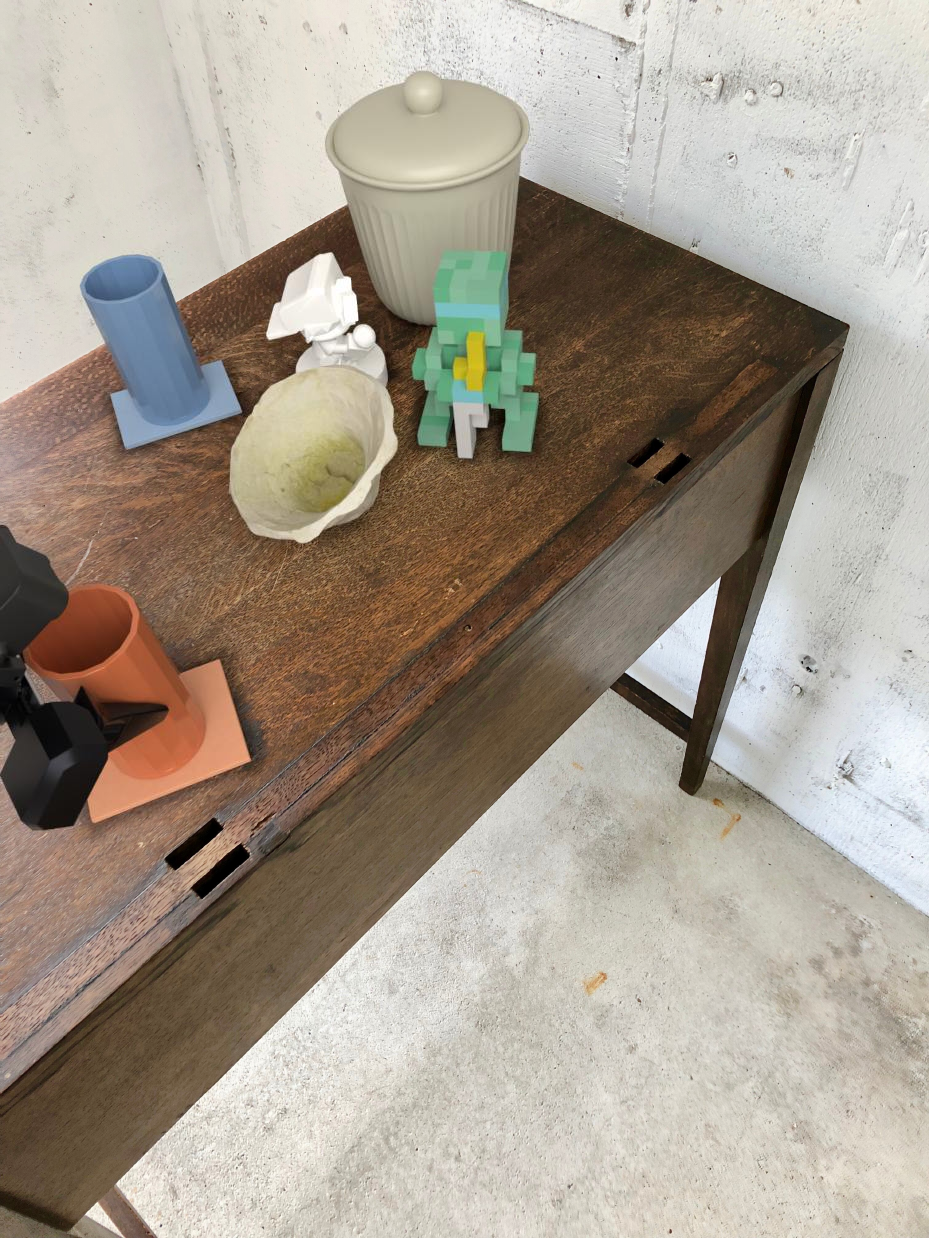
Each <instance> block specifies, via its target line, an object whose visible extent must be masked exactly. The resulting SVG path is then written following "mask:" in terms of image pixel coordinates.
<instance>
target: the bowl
mask: <svg viewBox="0 0 929 1238" xmlns="http://www.w3.org/2000/svg"><path fill="white" fill-rule="evenodd" d="M394 410H395V409H394V404H393V403H392V398H391V396H390V393H389V391H388V389H387V387H386V388H385V387H384V386H383V385H382V384H381V383H379V382H378V380H377V379H375V378H374V377H372V376H371V375H368V374H366V373H365V372H363V371H361V370H359V369H357V368H356V367H353V366H350V365H327V366H321V367H316V368H311V369H307V370H305V371H302V372H298V373H296V372H295V373H293V374H292V375H289V376H288V377H286V378H284V379H282V380H279V381H278V382H275V383H273V384H271V385H270V386H269V387H268V388H267V389H266V390H265V392H264V393H263V394H262V395H261V396H260V398H259V400H258V402H257V403H256V404H255V405H254V407H253V410H252V412H251V414H249V415H248V417H247V418H246V419H245V422H244V423H243V425H242V427H241V429H240V431H239V434H238V435H237V436H236V439H235V441H234V443H233V445H232V446H231V451H230V465H229V488H228V494H230V495H231V499H232V501H233V503H234V505H235V506H236V507H237V510H238V513H239V514H240V517H241V518H242V519H243V520H244V522H245V523H246V525H247V527H248V529H249V530H250V532H252V534H253V535H256V536H258V537H266V538H270V539H274V540H288V541H295V542H297V543H299V544H307V543H309V542H311V541H312V540H314V539H315V538H317V537H319V535H320V534H321V533H322V532H323V531H325V530H328V529H331V528H333V526H341V525H343V524H347V523H350V522H351V521H353V520H356V519H358V518H359V517H361V515H363V514H364V513H365V512H366V511H368V510H369V509H370V508H371V507H372V506H373V505H374V503H375V501H376V499H377V497H378V494H379V491H380V482H381V481H380V480H381V476H382V470H383V469H384V468H385V467H386V466H387V465H388V463H389V462H391V460H392V459H393V458H394V456H395V455H396V453H397V451H398V446H399V441H398V437H397V435H396V433H395V430H394V420H395V411H394Z"/></svg>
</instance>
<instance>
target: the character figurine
mask: <svg viewBox="0 0 929 1238" xmlns="http://www.w3.org/2000/svg"><path fill="white" fill-rule="evenodd" d="M335 257H336V256H335V255H334V253H333V252H332V251H330V252H325V253H319V254H318V255H315V256H314V257H313V258H311V259H310V260H309V261H307V262H305V263H304V264H303V265H300V266H299V267H298V268H296V269H295V270H293V271H292V272H290V273H289V275H287V278H286V281H285V285H284V289H283V293H282V297H281V300H280V301H279V302H275V304H274V305H273V308H272V312H271V314H270V318H269V322H268V326H267V330H266V334H265V336H266V338H267V340H268V341H272V340H277V339H280V338H284V337H287V336H291V335H295V334H297V333H298V332H300V333H301V335H302V336H303V337H304V338H305V342H306V344H310V343H311V344H312V345H311V346H310V347H308V348H307V349H306V350H305V351H304V352H303V353H302V355H301V356H299V358H298V361H297V363H296V366H295V374H296V373H298V372H302V371H305V370H307V369H311V368H316V367H321V366H327V365H350V366H353V367H356V368H357V369H359V370H361V371H363V372H365V373H366V374H368V375H371V376H372V377H374V378H375V379H377V380H378V382H379V383H381V384H382V385H383V386H384V387H385V388H386V389H387V385H388V382H389V375H388V368H387V362H386V357H385V354H384V352H383V349H382V348H381V347H380V346H379V345H378V344H377V343H376V340H377V339H376V338H377V336H376V332H375V330H374V329H373V328H372V327H371V326H370V325H369V324H365V323H361V324H358V325H356V322H358V321H359V313H358V311H359V310H358V303H357V294H356V293H355V291H353V289H352V280H351V279H352V278H351V277H350V276H345V275H344V274H343V271H342V269H341V268H340V265H339V263H338V261H337V258H335ZM353 325H356V326H355V327H354V329H353V331H352V332H347V331H348V330H349V329H350V328H351V326H353ZM346 332H347V333H346ZM345 333H346V334H345Z"/></svg>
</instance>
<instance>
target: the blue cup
mask: <svg viewBox="0 0 929 1238" xmlns="http://www.w3.org/2000/svg"><path fill="white" fill-rule="evenodd" d="M79 289H80V293H81V296H82V298H83V300H84V302H85V304H86V305H87V309H88V311H89V312H90V314H91V316H92V318H93V321H94V323H95V325H96V327H97V329H98V331H99V333H100V335H101V337H102V339H103V341H104V344H105V346H106V348H107V350H108V353H109V354H110V356H111V358H112V361H113V363H114V364H115V366H116V369H117V371H118V373H119V375H120V377H121V379H122V381H123V383H124V386H125V387H126V389H127V390H128V392H129V394H130V396H131V398H132V400H133V402H134V404H135V406H136V408H137V411H138V412H139V414H140V415H141V417H142V418H143V419H144V420H146V421H147V422H149V423H151V424H154V425H160V426H170V425H177V424H180V423H184V422H186V421H188V420H191V419H192V418H194V417H196V416H197V415H199V414H200V413H201V412H202V411H203V410H204V409H205V408H206V406H207V404H208V403H209V400H210V391H209V388H208V385H207V382H206V380H205V377H204V375H203V372H202V369H201V367H200V366H201V363H200V361H199V359H198V356H197V354H196V352H195V349H194V346H193V344H192V341H191V338H190V336H189V332H188V331H187V328H186V325H185V321H184V320H183V318H182V317H183V316H182V314H181V312H180V310H179V309H180V308H179V307H178V304H177V302H176V299H175V296H174V294H173V291H172V288H171V286H170V283H169V280H168V278H167V276H166V272H165V270H164V268H163V265H162V262H160V261H159V260H157V259H156V258H154V257H153V256H150V255H145V254H138V253H137V254H123V255H122V254H121V255H118V256H114V257H112V258H107V259H105V260H104V261H102V262H100V263H98V264H96V265H94V266H93V267H92V268H90V269H89V271H87V272H86V273H85V274H84V275H83V277H82V279H81V281H80V284H79Z"/></svg>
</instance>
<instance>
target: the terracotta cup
mask: <svg viewBox="0 0 929 1238" xmlns="http://www.w3.org/2000/svg"><path fill="white" fill-rule="evenodd" d="M67 590H68V593H69V601H68V604H67V607H66V609H65V610H64V612H63V613H62V614H61V615H60V616H59V617H58V618H57V619H55V620H52V621H51V622H50V623H49V624H48V625H47V626H46V627H45V628H44V629H43V630H42V631H41V632H40V633H39V635H38V636H37V637H36V638H35V639H34V640H33V641H32V642H31V643H30V644H29V645H28V646H27V647H26V649H25V650H24V651H23V652H22V653H23V657H24V661H25V666H26V667H28V668H29V670H30V671H31V672H32V673H33V674H34V676H36V678H37V679H38V680H39V681H40V682H41V684H43V686H44V687H45V688H46V689H47V690H48V691H49V692H50V694H52V696H53V697H54V698H55V700H56V701H70V702H73V701H74V699H75V697H76V694H77V692H78V690H79V688H80V686H84V687H85V688H86V689H87V690H88V692H89V693H90V694H91V695H92V696H93V697H94V699H95V700H96V701H98V702H123V703H154V704H162V705H167V707H168V708H169V712H168V714H167V716H166V718H165V719H164V721H162V722H161V723H159V724H157V725H156V726H154V727H152V728H151V729H149V730H147V731H145V732H144V733H142V734H140V735H139V736H137V737H135V738H133V739H132V740H130V741H128V742H126V743H125V744H123V745H121V746H120V747H118V748H116V749H115V750H113V751H111V752H110V753H108V759H109V760H110V761H111V762H112V763H113V764H114V765H115V766H116V767H117V768H118V769H119V770H120V771H121V772H122V773H124V774H125V775H127V776H130V777H132V778H136V779H145V780H148V779H157V778H161V777H164V776H167V775H170V774H172V773H174V772H176V771H177V770H179V769H180V768H182V767H183V766H185V765H186V764H187V763H188V762H189V761H190V760H191V759H192V758H193V757H194V756H195V754H196V753H197V752H198V750H199V748H200V747H201V745H202V742H203V740H204V736H205V731H206V722H205V717H204V714H203V712H202V710H201V708H200V706H199V704H198V702H197V700H196V699H195V697H194V696H193V694H192V692H191V691H190V689H189V687H188V686H187V684H186V683H185V681H184V679H183V678H182V676H181V674H180V673H181V672H180V671H179V670H178V668H177V666H176V665H175V663H174V661H173V660H172V658H171V656H170V655H169V653H168V652H167V650H166V649H165V647H164V645H163V644H162V642H161V640H160V638H159V637H158V636H157V634H156V632H155V630H154V629H153V627H152V625H151V624H150V623H149V621H148V619H147V618H146V616H145V613H143V611H142V609H141V608H140V606H139V605H138V603H137V602H136V600H135V598H134V597H133V596H132V595H130V594H129V593H128V592H126V591H125V590H124V589H123V588H121V587H119V586H114V585H111V584H105V583H93V584H91V583H90V584H84V585H78V586H75V587H73V588H70V589H67Z"/></svg>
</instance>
